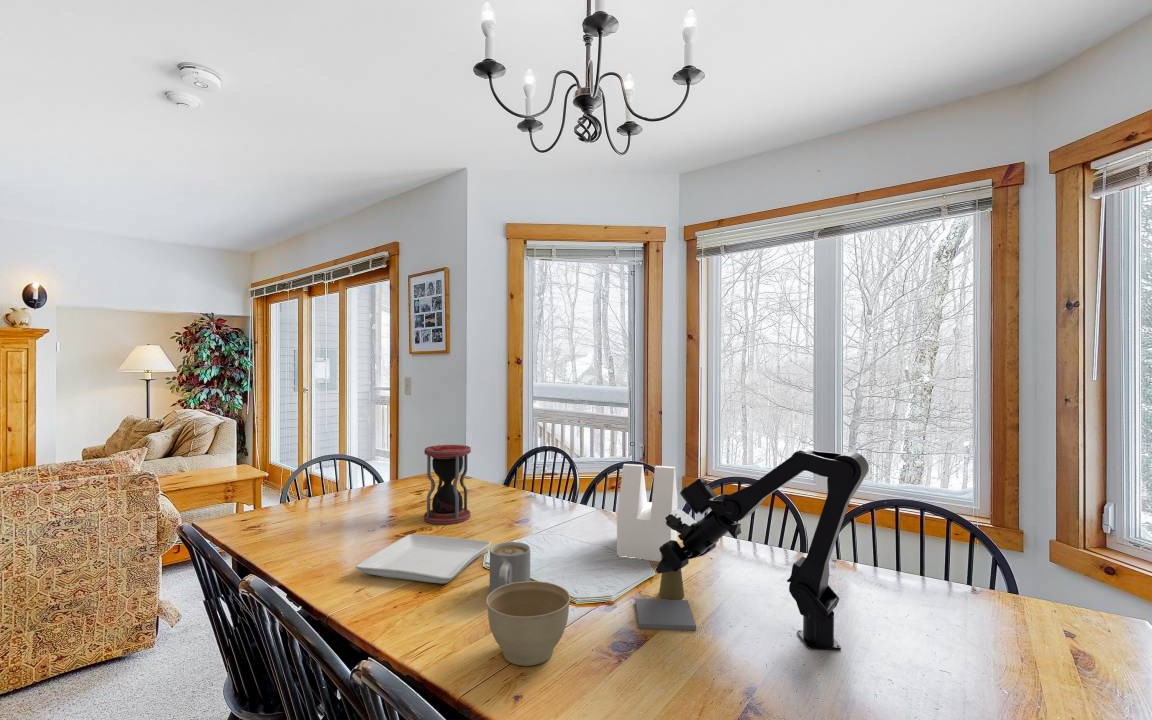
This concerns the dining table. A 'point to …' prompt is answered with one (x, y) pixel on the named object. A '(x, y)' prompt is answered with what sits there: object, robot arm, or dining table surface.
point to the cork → (671, 585)
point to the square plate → (424, 558)
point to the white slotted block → (645, 512)
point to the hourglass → (447, 484)
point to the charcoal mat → (664, 614)
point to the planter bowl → (528, 620)
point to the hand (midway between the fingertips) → (666, 565)
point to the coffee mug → (509, 564)
